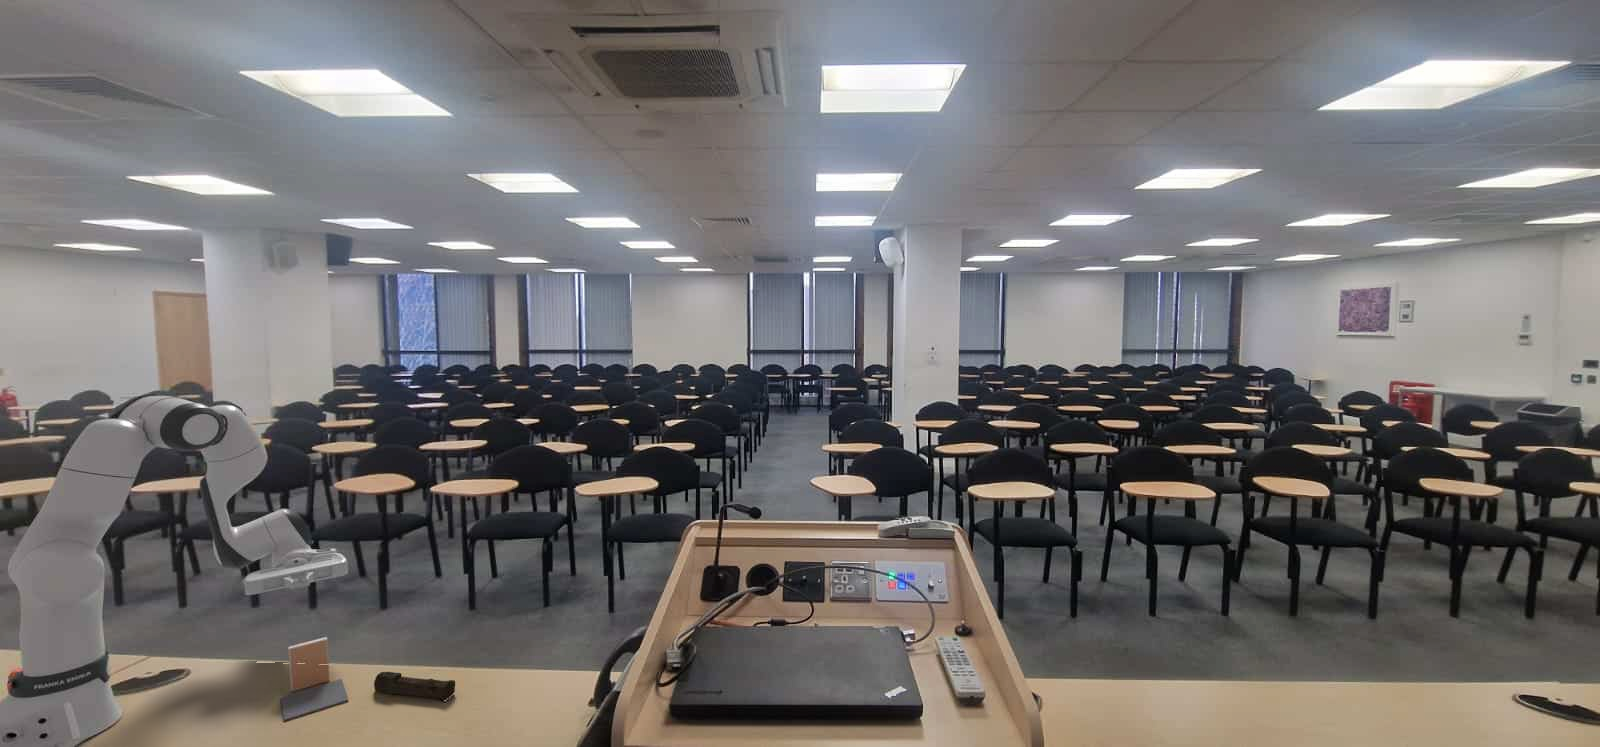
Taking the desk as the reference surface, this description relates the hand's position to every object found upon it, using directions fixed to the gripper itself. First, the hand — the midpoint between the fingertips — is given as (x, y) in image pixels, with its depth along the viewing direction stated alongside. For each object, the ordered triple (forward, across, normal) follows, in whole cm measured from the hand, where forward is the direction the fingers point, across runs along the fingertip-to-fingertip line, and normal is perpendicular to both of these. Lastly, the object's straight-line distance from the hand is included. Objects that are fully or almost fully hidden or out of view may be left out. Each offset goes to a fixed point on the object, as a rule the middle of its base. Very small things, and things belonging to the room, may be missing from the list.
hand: (300, 584), depth 156 cm
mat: (+20, 0, +20) cm, 28 cm away
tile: (+12, 0, +20) cm, 23 cm away
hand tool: (+32, +16, +20) cm, 41 cm away
